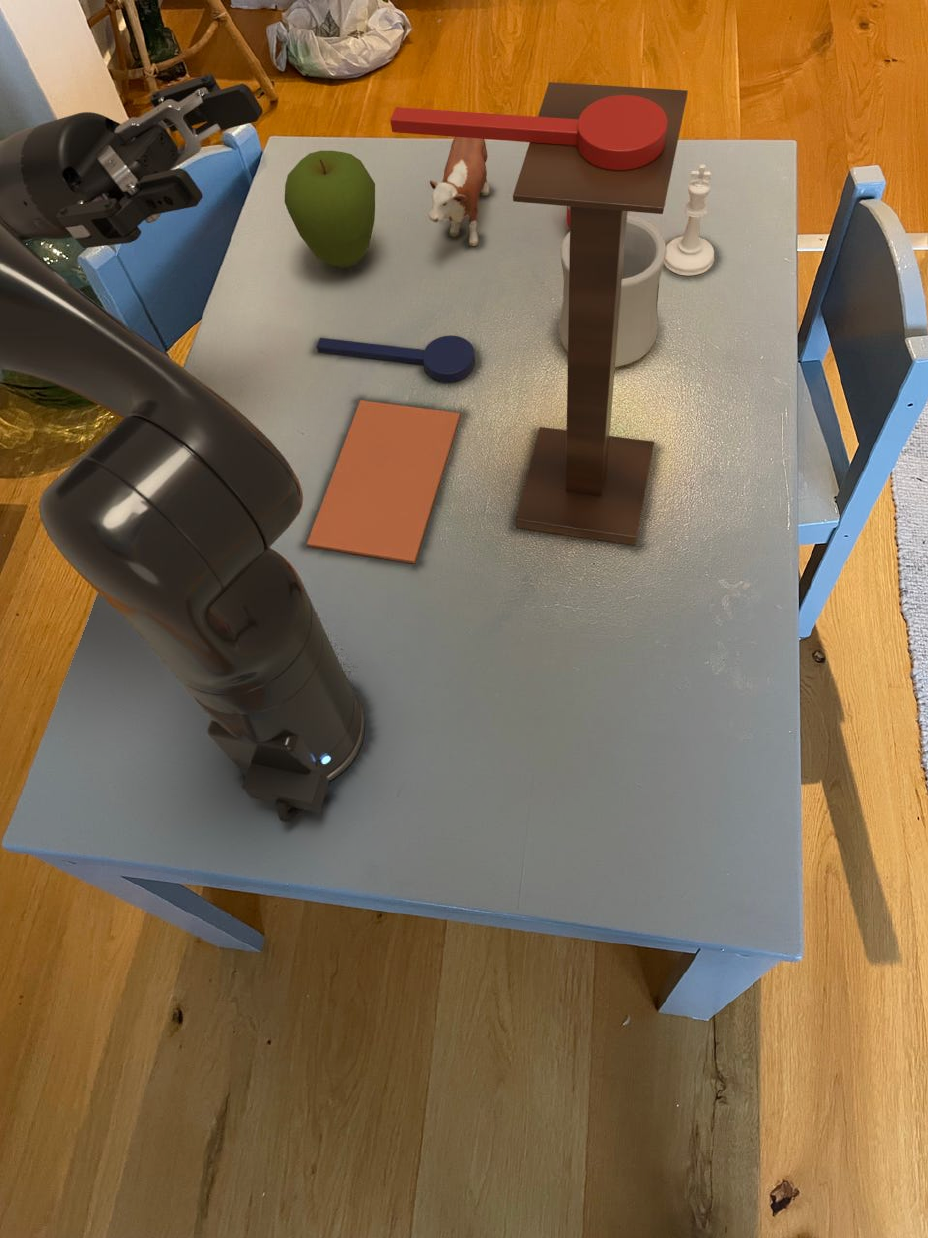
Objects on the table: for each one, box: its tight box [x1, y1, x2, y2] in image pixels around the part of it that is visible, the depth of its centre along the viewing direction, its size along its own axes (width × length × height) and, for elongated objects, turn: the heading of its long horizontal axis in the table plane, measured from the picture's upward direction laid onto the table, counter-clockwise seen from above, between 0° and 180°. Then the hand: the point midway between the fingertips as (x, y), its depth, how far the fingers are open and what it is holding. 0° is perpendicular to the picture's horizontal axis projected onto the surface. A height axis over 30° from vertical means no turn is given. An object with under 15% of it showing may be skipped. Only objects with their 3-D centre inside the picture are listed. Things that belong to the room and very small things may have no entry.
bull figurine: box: [428, 137, 490, 247], centre depth 93 cm, size 4×13×8 cm, turn 166°
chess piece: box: [664, 164, 715, 277], centre depth 87 cm, size 5×5×10 cm
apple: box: [284, 150, 376, 269], centre depth 90 cm, size 9×8×12 cm
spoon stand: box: [512, 81, 689, 546], centre depth 65 cm, size 10×10×32 cm
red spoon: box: [389, 95, 668, 170], centre depth 51 cm, size 5×15×1 cm, turn 76°
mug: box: [558, 214, 667, 368], centre depth 84 cm, size 12×9×10 cm
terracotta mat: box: [306, 399, 461, 564], centre depth 81 cm, size 16×10×1 cm, turn 166°
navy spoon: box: [316, 335, 476, 384], centre depth 88 cm, size 5×15×1 cm, turn 76°
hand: (224, 142), depth 59 cm, fingers open, 8 cm apart
